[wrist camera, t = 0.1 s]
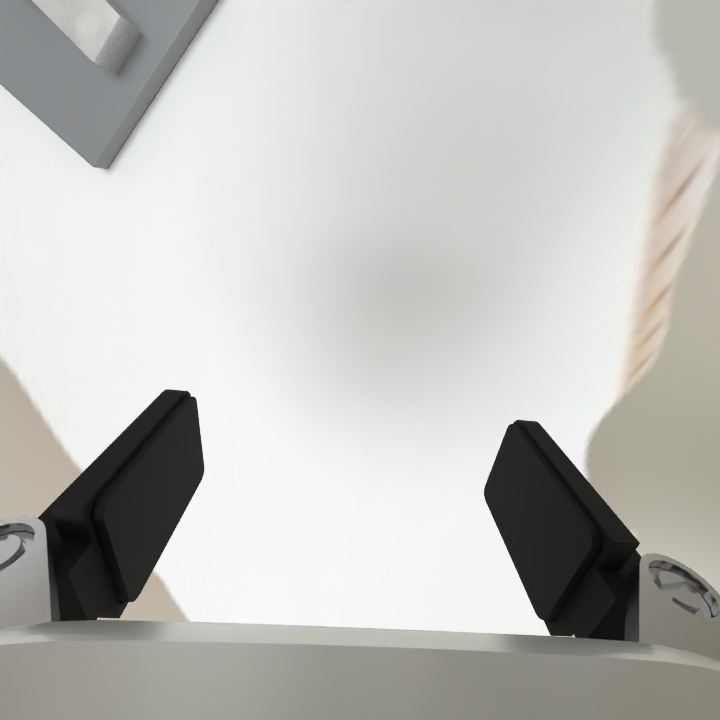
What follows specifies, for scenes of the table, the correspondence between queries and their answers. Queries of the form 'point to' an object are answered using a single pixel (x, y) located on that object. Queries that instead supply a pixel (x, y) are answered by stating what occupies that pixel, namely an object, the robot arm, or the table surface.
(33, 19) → the cover plate
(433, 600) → the table surface
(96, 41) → the grey long block
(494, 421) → the table surface
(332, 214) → the table surface
